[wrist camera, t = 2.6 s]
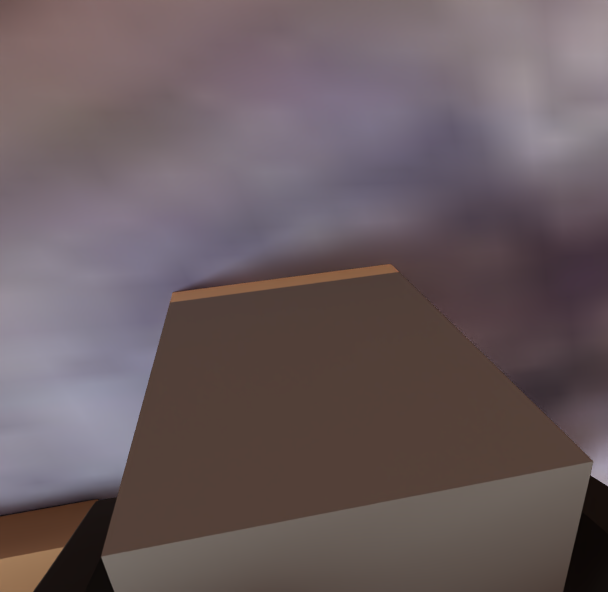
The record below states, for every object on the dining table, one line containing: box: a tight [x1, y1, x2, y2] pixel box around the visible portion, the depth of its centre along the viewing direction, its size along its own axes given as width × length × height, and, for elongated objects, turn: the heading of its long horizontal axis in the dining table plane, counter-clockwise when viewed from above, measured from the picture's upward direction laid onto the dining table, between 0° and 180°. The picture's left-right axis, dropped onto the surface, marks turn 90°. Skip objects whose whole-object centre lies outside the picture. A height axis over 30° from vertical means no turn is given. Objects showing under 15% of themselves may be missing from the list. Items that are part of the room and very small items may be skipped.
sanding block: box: [101, 264, 593, 592], centre depth 8 cm, size 8×5×6 cm, turn 4°
